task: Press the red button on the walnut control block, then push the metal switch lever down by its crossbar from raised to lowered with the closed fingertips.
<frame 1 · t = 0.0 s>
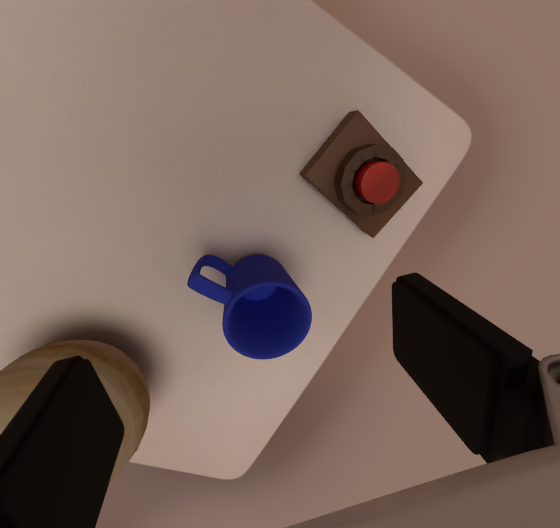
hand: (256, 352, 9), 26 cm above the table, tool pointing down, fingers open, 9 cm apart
power button: (376, 182, 31), point 4 cm above the table, slide at 0.1 cm
mug: (242, 269, 36), on the table
decorative ball: (96, 365, 38), on the table
button block: (357, 177, 35), on the table
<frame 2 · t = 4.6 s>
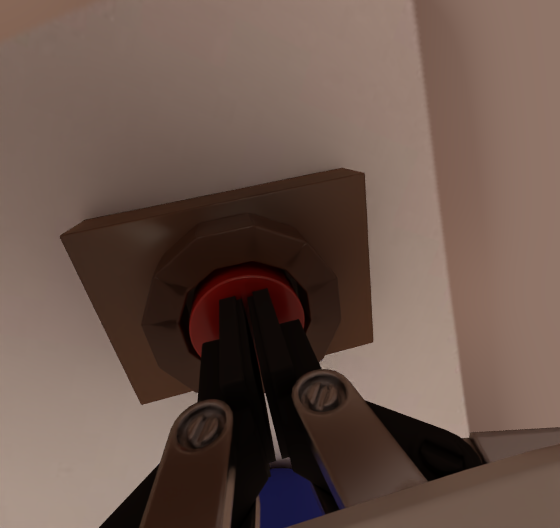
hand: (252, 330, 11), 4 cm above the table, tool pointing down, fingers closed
power button: (246, 315, 11), point 3 cm above the table, slide at -0.9 cm, touching gripper
mug: (242, 501, 21), on the table
button block: (240, 276, 15), on the table
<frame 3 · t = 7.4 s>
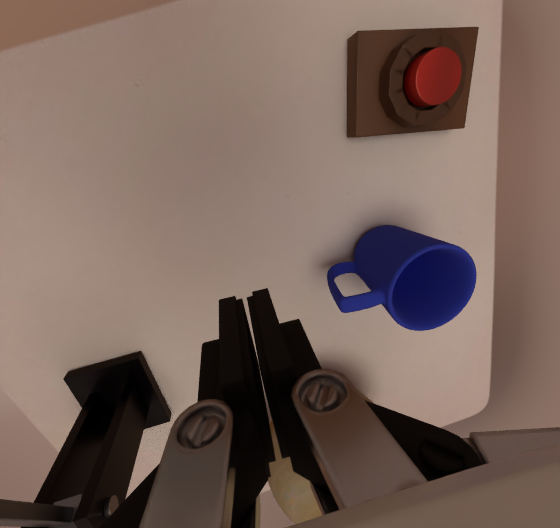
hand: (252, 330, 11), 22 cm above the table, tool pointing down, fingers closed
power button: (432, 78, 25), point 4 cm above the table, slide at 0.1 cm
switch bracket: (123, 393, 36), on the table
mug: (361, 255, 35), on the table
decorative ball: (311, 400, 42), on the table
button block: (402, 87, 29), on the table
switch lever: (23, 514, 20), point 15 cm above the table, hinge at 25.0°
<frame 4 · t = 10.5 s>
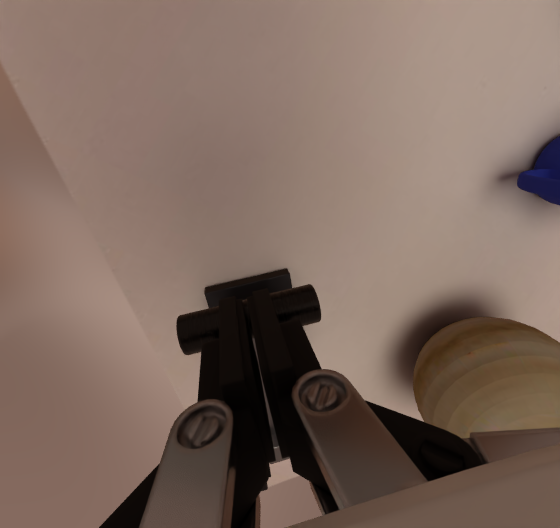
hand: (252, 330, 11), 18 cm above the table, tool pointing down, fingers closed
switch bracket: (256, 320, 31), on the table
mug: (537, 169, 31), on the table
decorative ball: (443, 345, 38), on the table
switch lever: (270, 393, 16), point 15 cm above the table, hinge at 19.4°
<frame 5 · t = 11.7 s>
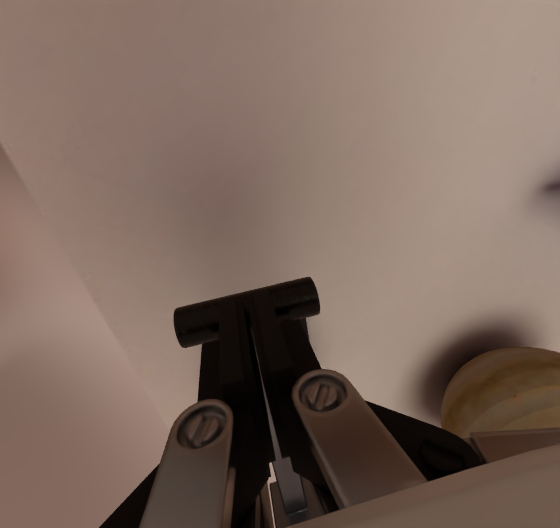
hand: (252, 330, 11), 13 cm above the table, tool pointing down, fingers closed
switch bracket: (263, 352, 27), on the table
decorative ball: (471, 374, 34), on the table
switch lever: (279, 437, 13), point 13 cm above the table, hinge at -3.4°, touching gripper
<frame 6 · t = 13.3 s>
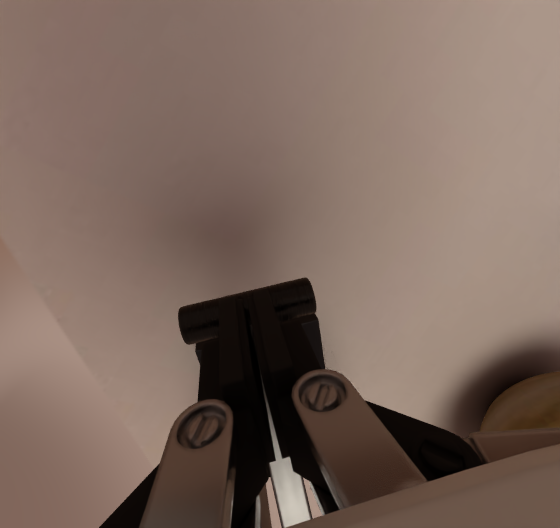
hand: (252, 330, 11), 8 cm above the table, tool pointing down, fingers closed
switch bracket: (269, 380, 23), on the table
decorative ball: (509, 399, 29), on the table
switch lever: (287, 480, 11), point 10 cm above the table, hinge at -29.1°, touching gripper
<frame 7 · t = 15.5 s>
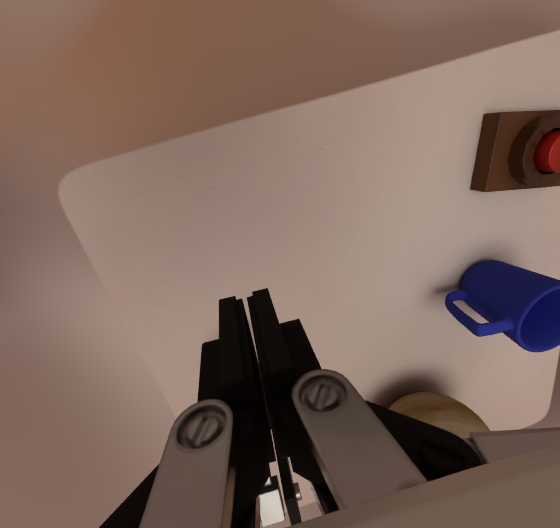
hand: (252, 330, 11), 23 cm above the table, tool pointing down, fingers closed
power button: (558, 151, 31), point 4 cm above the table, slide at 0.1 cm
switch bracket: (255, 398, 42), on the table
mug: (465, 283, 41), on the table
decorative ball: (403, 407, 48), on the table
button block: (518, 150, 36), on the table
switch lever: (256, 439, 30), point 10 cm above the table, hinge at -29.1°
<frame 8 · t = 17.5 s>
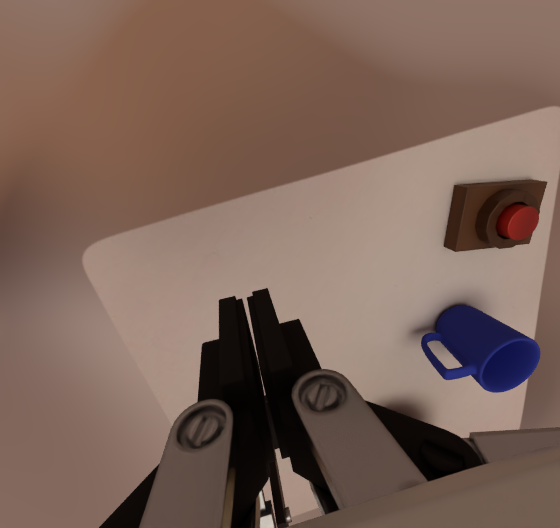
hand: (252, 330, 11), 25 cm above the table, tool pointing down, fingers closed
power button: (516, 221, 36), point 4 cm above the table, slide at 0.1 cm
switch bracket: (252, 424, 47), on the table
mug: (440, 324, 46), on the table
button block: (486, 213, 40), on the table
switch lever: (253, 470, 35), point 10 cm above the table, hinge at -29.1°
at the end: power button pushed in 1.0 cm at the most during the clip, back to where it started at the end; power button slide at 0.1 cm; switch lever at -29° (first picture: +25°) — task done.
